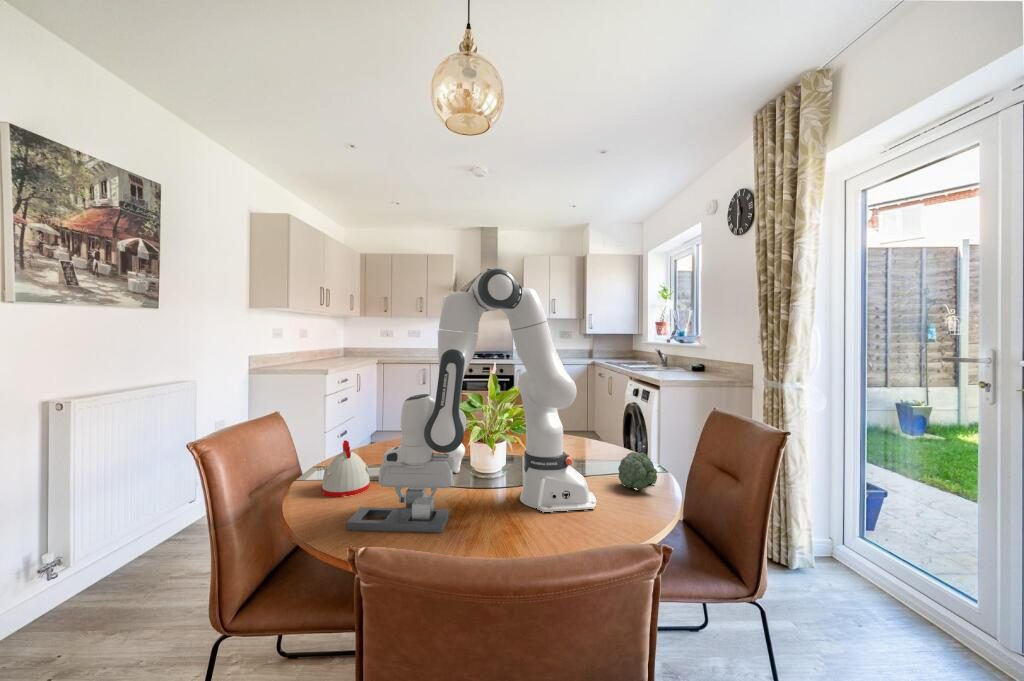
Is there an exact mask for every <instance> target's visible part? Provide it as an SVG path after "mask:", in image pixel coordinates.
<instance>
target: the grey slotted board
mask: <svg viewBox="0 0 1024 681" xmlns="http://www.w3.org/2000/svg"><path fill="white" fill-rule="evenodd" d="M379 517H384V518H383V519H384V520H379V519H378V520H376V519H370V518H379ZM385 517H387V518H385ZM368 518H369V519H368ZM367 519H368V520H367ZM449 519H450V509H448V508H444V509H443V508H434V514H433V520H432V522H422V521H412V508H406V507H378V506H377V507H374V506H373V507H371V506H370V507H369V506H367V507H366V506H360V508H358V509H357V510H356V512H354V513H353V514H352V515H351V517H350V518H349V519H348V520H346V522H345V531H354V532H355V531H356V532H357V531H358V532H359V531H360V532H389V533H390V532H391V533H393V532H394V533H395V532H396V533H402V532H403V533H425V532H433V534H434V533H435V534H443V533H444V530H445V528H446V525H447V523H448V521H449Z"/></svg>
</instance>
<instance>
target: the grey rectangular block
mask: <svg viewBox="0 0 1024 681" xmlns="http://www.w3.org/2000/svg"><path fill="white" fill-rule="evenodd" d="M405 495H406V501H405V508H412V504H413V502H414V501H415V499H416V498H417V497H424V498H426V497H427V488H410V487H407V489H406V491H405Z"/></svg>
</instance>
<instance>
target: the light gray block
mask: <svg viewBox="0 0 1024 681" xmlns="http://www.w3.org/2000/svg"><path fill="white" fill-rule="evenodd" d="M434 500H435V498H434V497H433V498H424V497H417V498H416V499H415V501H414V502H413V504H412V521H422V522H432V520H433V514H434V509H435V508H434V502H435V501H434Z"/></svg>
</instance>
